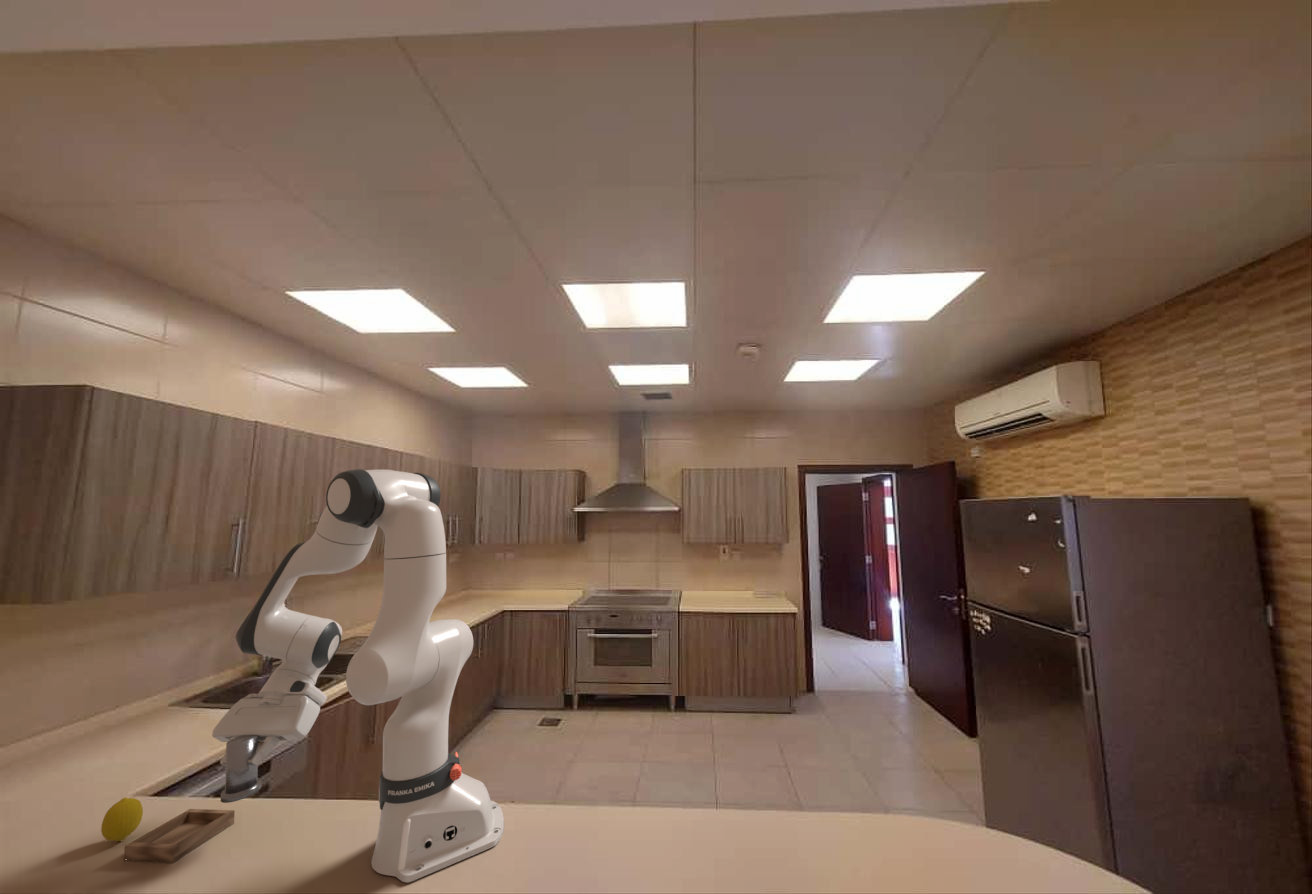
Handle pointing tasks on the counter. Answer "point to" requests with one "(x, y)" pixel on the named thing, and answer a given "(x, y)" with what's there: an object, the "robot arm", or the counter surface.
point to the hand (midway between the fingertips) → (238, 764)
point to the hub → (240, 769)
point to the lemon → (122, 819)
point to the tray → (179, 835)
